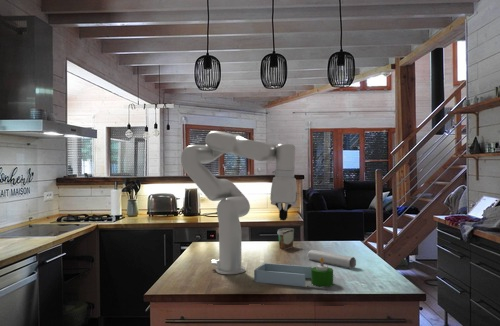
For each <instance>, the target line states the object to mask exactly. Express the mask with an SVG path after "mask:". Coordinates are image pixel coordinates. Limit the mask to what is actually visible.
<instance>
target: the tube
mask: <svg viewBox="0 0 500 326" xmlns="http://www.w3.org/2000/svg"><path fill="white" fill-rule="evenodd" d="M306 255H307V258H308V259H309V260H310V261H314V262H319V263H321V262H320V259H321V258H323V259H324V263H323V264H326V263H327V264H328V265H331V266H335V265H336V267H340V268H344V269H350V270H352V269H355V268H356V266H357V260H356V257H355V256H347V255H343V254H337V253H332V252H326V251H321V250H315V249H311V250H309V251H308V252H307V254H306Z"/></svg>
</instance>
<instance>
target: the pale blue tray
mask: <svg viewBox="0 0 500 326" xmlns="http://www.w3.org/2000/svg"><path fill="white" fill-rule="evenodd" d="M311 268H313V267H312V266H311V265H310V266H308V265H307V266H306V265H295V264H283V263H282V264H281V263H271V262H270V263H268V262H263V263H262V264H261V265H259V266H257V268H255V269H254V270H253V271H254V273H253V277H254V278H253V279H254V280H253V282H254V283H261V284H272V285H273V284H274V285H283V286H284V285H285V286H293V287H304V288H305V287H306V279H311Z"/></svg>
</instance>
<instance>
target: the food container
mask: <svg viewBox="0 0 500 326" xmlns="http://www.w3.org/2000/svg"><path fill="white" fill-rule="evenodd" d="M276 233H277V235H278V243H279V244H278V245H279V246H278V247H279V250H281V251H282V250H283V251H284V250H287V249H291V248H293V247H294V233H295V228H290V227H283V228H279V229H277V232H276Z"/></svg>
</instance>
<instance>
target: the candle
mask: <svg viewBox="0 0 500 326" xmlns="http://www.w3.org/2000/svg"><path fill="white" fill-rule="evenodd" d="M319 263H320V264H317V265H315V266H313V267H312V268H311V278H310V279H311V281H310V282H311V285H312V284H313V285H312V286H314V285H316V286H315V287H319V286H328V287H332V286H333V285H334V269H333V268H331V267H328V265H326V264H325V263H324V259H323V258H321V259H320V262H319ZM331 285H332V286H331Z"/></svg>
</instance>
